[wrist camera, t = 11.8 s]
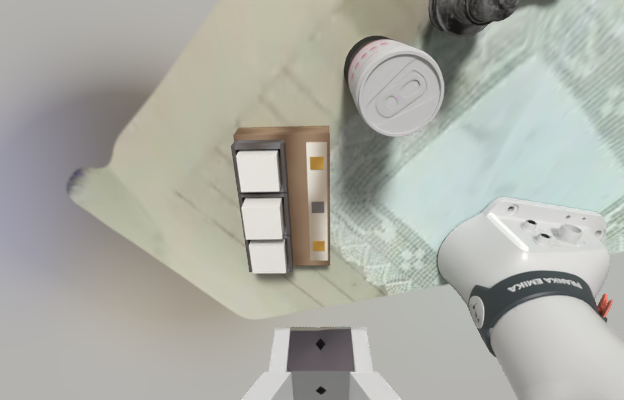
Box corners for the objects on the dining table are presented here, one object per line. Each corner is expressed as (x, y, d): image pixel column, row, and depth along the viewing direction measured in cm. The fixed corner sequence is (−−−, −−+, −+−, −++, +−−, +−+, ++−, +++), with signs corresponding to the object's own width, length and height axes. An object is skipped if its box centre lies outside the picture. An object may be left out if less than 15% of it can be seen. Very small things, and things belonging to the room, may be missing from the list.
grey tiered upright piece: (486, -36, 34) (563, -58, 23) (482, 30, 36) (548, 37, 26) (425, -25, 34) (473, -42, 24) (425, 39, 37) (468, 50, 26)
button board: (328, 125, 42) (329, 139, 37) (329, 252, 51) (330, 274, 46) (238, 127, 42) (229, 141, 38) (255, 252, 51) (249, 275, 47)
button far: (285, 234, 45) (283, 245, 43) (287, 261, 47) (286, 273, 45) (252, 234, 45) (248, 246, 43) (255, 261, 47) (252, 273, 45)
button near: (278, 147, 39) (276, 155, 37) (281, 181, 41) (279, 191, 39) (240, 147, 39) (236, 155, 37) (245, 182, 42) (241, 192, 39)
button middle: (281, 197, 41) (279, 207, 39) (284, 227, 43) (282, 239, 41) (245, 197, 42) (241, 207, 39) (249, 228, 44) (245, 239, 41)
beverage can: (413, 73, 39) (462, 104, 25) (365, 109, 41) (386, 154, 27) (382, 21, 36) (418, 26, 23) (332, 62, 38) (339, 88, 25)
